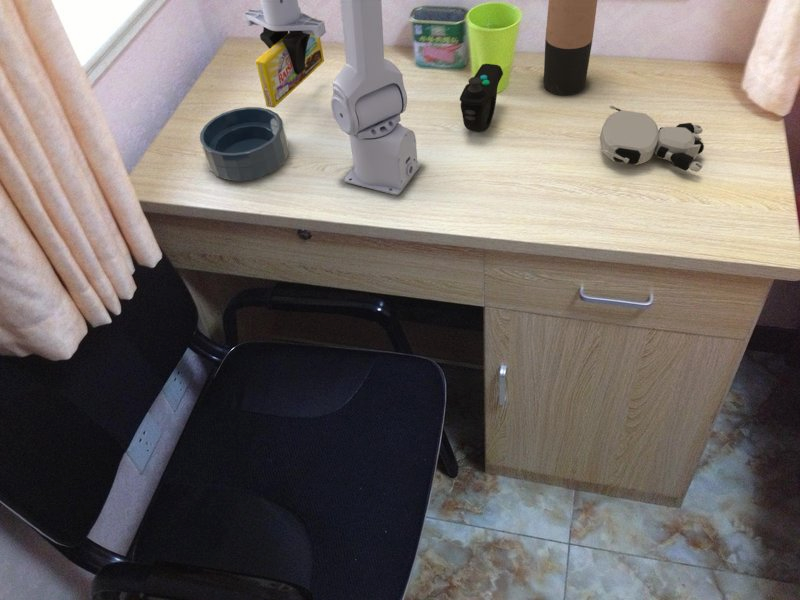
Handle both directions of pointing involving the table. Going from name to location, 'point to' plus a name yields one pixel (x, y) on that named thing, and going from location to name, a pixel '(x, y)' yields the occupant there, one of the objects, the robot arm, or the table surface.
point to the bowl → (244, 143)
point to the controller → (480, 97)
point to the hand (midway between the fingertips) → (293, 70)
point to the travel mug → (568, 45)
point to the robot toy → (649, 140)
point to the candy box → (285, 70)
